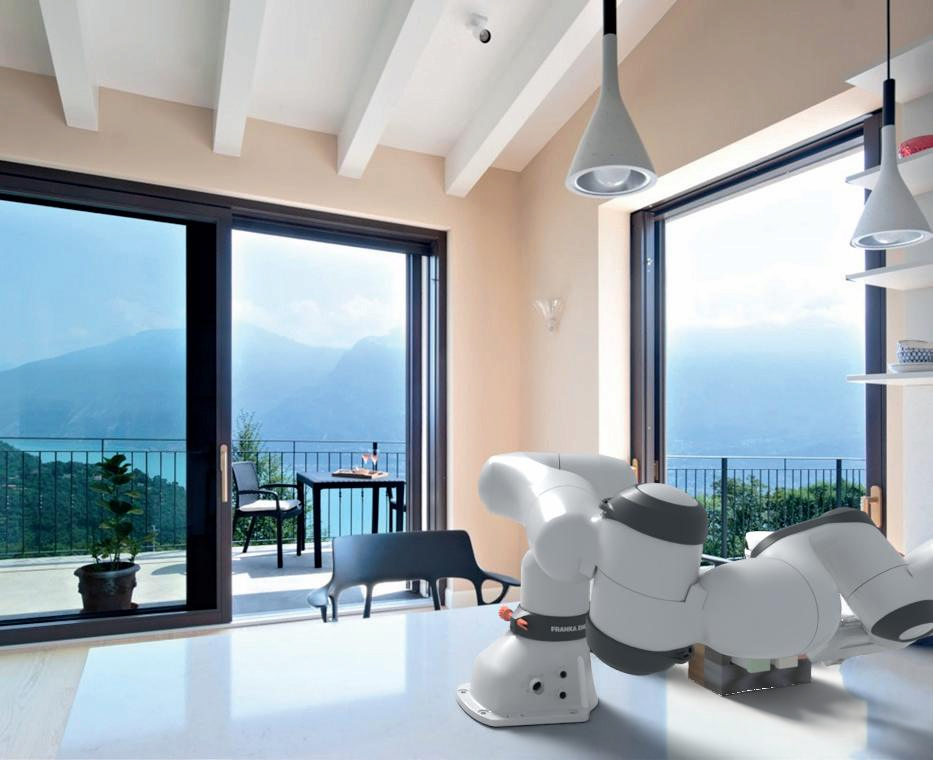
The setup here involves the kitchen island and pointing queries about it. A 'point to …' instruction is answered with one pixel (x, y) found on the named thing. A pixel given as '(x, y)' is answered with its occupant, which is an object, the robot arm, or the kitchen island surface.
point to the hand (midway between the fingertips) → (829, 660)
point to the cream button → (785, 662)
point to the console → (740, 673)
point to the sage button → (752, 664)
